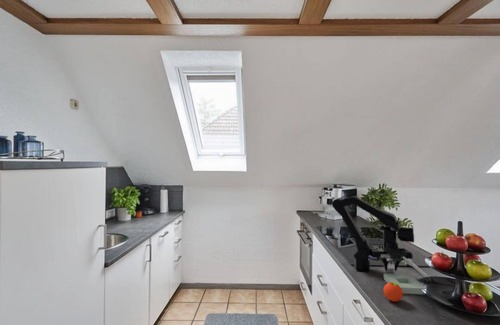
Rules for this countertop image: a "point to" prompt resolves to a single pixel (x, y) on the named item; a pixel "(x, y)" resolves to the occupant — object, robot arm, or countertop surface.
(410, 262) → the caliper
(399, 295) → the clementine
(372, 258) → the snack package
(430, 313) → the countertop surface
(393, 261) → the bushing
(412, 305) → the countertop surface
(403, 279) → the jig
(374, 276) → the countertop surface
